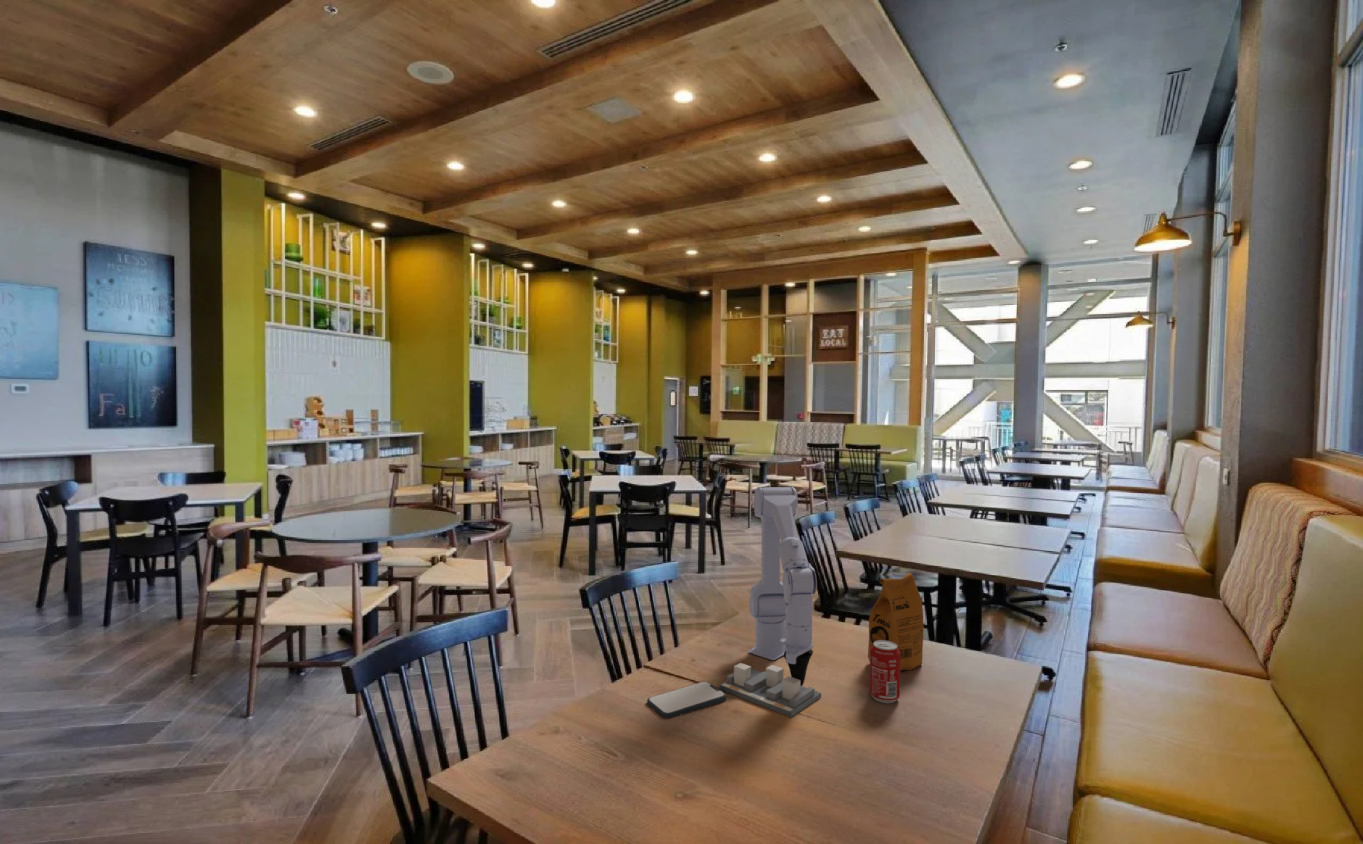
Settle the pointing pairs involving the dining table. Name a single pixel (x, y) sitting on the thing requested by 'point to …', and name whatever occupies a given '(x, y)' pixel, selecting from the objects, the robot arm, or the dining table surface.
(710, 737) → the dining table surface
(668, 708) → the smartphone
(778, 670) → the white rectangular block
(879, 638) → the coffee package
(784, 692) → the tab
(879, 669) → the beverage can
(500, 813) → the dining table surface
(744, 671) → the tab
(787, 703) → the switch board
